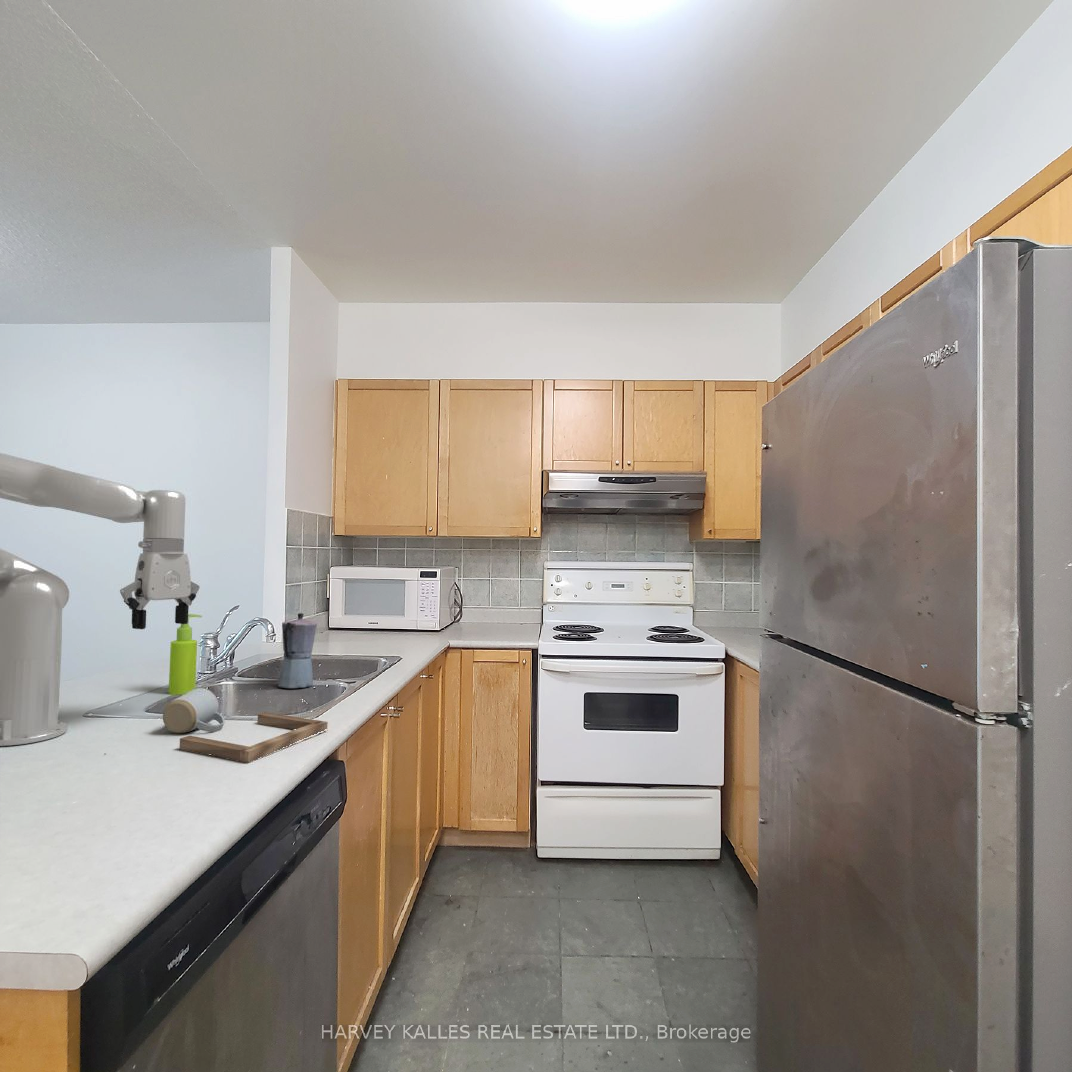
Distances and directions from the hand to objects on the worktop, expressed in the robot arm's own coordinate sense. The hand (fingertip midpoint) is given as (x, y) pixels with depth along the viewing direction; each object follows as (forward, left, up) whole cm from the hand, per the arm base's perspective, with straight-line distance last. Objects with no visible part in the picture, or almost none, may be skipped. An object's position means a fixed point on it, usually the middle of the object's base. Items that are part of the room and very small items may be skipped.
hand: (160, 626), depth 125 cm
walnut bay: (0, -29, -20) cm, 35 cm away
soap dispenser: (+21, +19, -21) cm, 35 cm away
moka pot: (+38, -2, -21) cm, 43 cm away
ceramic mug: (0, -12, -21) cm, 24 cm away
